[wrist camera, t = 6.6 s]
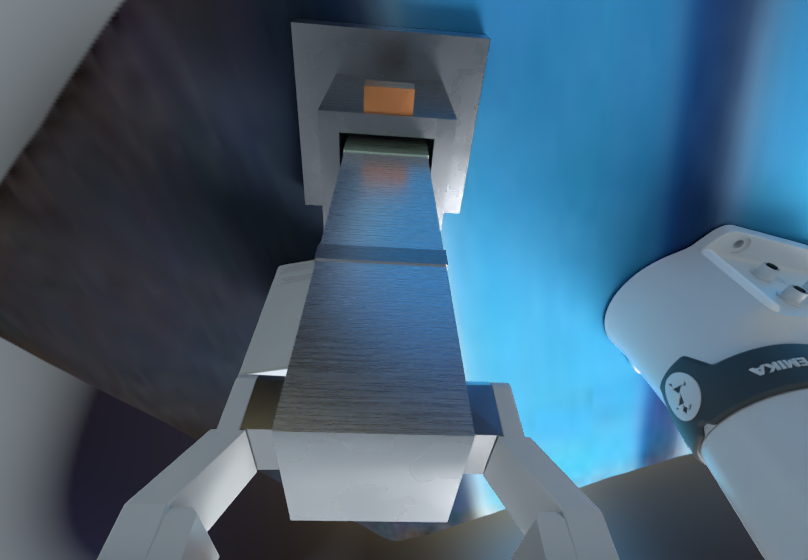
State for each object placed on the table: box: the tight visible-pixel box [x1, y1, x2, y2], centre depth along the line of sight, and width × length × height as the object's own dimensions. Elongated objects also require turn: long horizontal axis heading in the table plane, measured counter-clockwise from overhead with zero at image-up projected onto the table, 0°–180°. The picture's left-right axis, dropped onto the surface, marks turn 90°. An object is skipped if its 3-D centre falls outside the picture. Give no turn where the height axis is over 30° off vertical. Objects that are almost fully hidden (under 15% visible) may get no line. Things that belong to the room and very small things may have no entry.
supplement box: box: [239, 260, 315, 376], centre depth 35 cm, size 7×7×13 cm
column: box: [271, 133, 475, 522], centre depth 16 cm, size 4×4×18 cm
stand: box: [291, 18, 490, 232], centre depth 26 cm, size 12×12×10 cm
